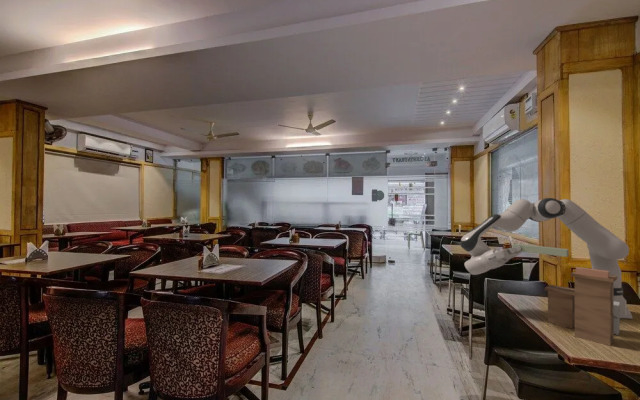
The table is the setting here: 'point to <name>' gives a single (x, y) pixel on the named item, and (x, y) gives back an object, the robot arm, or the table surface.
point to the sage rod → (543, 250)
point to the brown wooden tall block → (594, 308)
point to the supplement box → (616, 317)
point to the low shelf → (561, 305)
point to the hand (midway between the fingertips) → (522, 247)
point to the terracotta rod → (592, 272)
